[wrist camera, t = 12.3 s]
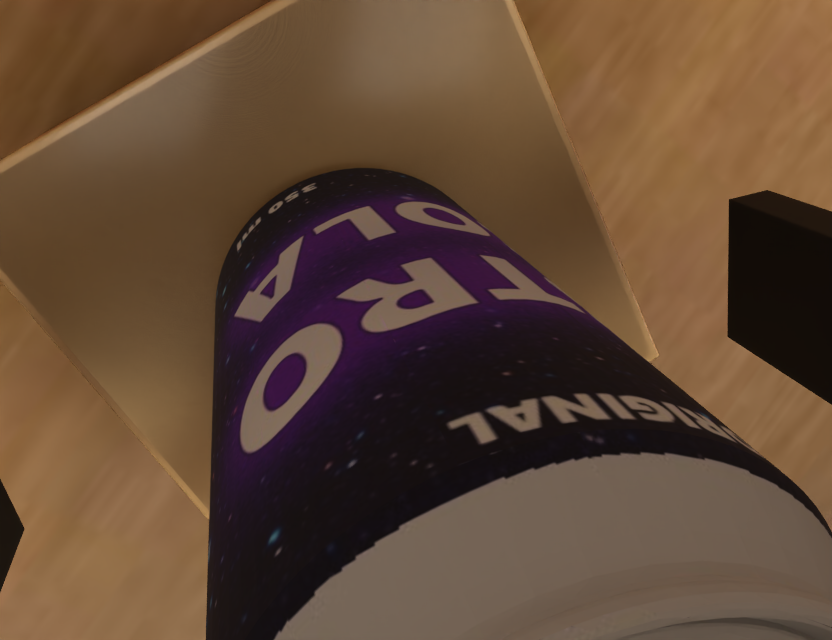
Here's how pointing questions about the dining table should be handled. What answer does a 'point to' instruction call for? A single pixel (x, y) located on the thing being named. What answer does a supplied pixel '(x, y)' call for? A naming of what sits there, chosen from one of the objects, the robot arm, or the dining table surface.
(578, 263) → the wooden block
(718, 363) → the dining table surface
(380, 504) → the beverage can
